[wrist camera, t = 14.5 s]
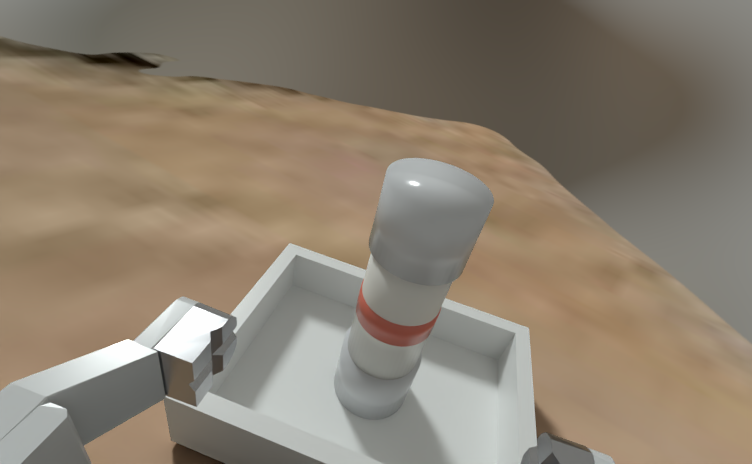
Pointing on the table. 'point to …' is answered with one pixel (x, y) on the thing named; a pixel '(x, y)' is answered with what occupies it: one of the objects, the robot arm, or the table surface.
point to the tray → (316, 382)
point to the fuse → (407, 279)
